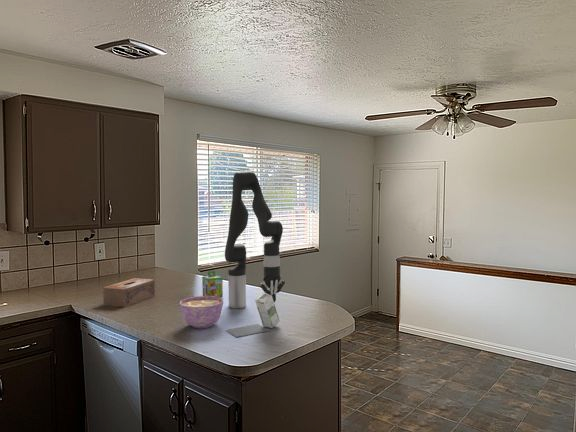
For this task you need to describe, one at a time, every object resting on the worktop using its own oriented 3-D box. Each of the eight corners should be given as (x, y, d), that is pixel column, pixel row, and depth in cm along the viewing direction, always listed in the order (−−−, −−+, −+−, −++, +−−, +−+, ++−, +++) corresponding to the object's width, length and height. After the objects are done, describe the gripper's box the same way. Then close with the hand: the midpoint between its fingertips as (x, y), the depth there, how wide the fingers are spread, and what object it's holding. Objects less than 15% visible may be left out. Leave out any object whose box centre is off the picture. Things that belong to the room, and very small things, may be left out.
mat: (226, 330, 203) (226, 329, 203) (257, 324, 211) (257, 323, 211) (236, 337, 194) (236, 336, 194) (269, 331, 202) (269, 330, 202)
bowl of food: (183, 320, 220) (183, 296, 219) (225, 318, 221) (225, 295, 220) (176, 333, 200) (175, 307, 199) (222, 332, 201) (221, 306, 200)
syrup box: (270, 319, 212) (262, 293, 208) (280, 321, 209) (271, 294, 204) (263, 326, 209) (254, 299, 204) (272, 328, 205) (263, 301, 200)
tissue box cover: (125, 307, 244) (124, 289, 243) (103, 305, 249) (103, 287, 248) (154, 296, 268) (154, 279, 267) (134, 294, 273) (134, 278, 272)
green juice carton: (209, 299, 259) (208, 273, 258) (201, 296, 267) (201, 271, 266) (223, 296, 265) (222, 271, 264) (216, 293, 272) (215, 269, 271)
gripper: (280, 262, 213) (280, 298, 214) (255, 265, 206) (255, 302, 208) (288, 264, 207) (289, 302, 208) (262, 267, 200) (263, 306, 201)
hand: (272, 302), depth 208 cm, fingers closed
